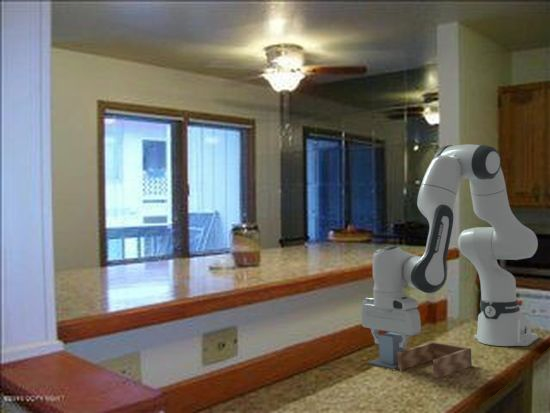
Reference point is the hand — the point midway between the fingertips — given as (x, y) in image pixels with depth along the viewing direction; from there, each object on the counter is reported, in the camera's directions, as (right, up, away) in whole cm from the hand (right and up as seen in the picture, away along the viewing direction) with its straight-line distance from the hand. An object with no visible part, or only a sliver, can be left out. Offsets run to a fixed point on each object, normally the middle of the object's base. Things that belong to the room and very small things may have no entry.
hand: (390, 345), depth 171 cm
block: (0, -5, 0) cm, 5 cm away
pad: (0, -5, 0) cm, 5 cm away
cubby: (+11, -5, -7) cm, 14 cm away
